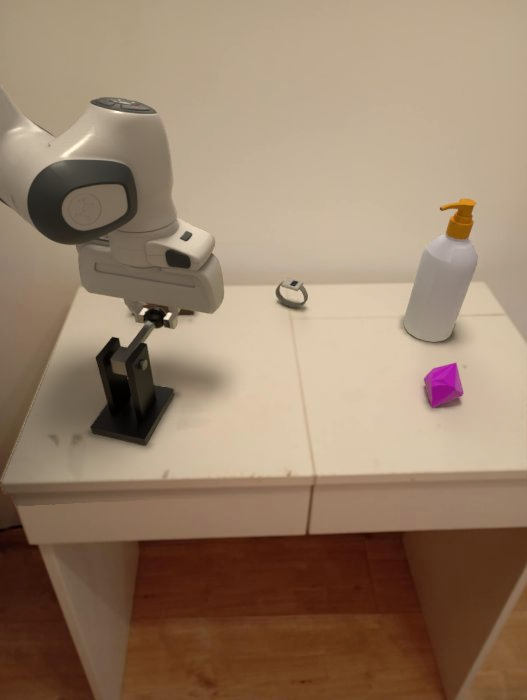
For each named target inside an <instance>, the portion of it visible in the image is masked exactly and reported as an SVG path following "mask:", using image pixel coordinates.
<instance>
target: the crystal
mask: <svg viewBox="0 0 527 700" xmlns="http://www.w3.org/2000/svg"><path fill="white" fill-rule="evenodd" d="M423 381H424V382H423V383H424V385H425V389H426V393H427V396H428V400H429V403H430V407H431V409H433V408H436V407H438V406H440V405H444V404H445V403H449V402H451V401H453V400H456V399H458V398H461V397H463V396H464V393H465V392H464V389H463V384H462V381H461V376H460V372H459V368H458V364H457V362H453V363H449V364H445V365H440V366H438V367H434V368H432V369H431V370H430V371H429V372H428V373H427V374H426V375H425V376H424V377H423Z"/></svg>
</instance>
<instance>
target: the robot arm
mask: <svg viewBox="0 0 527 700" xmlns="http://www.w3.org/2000/svg"><path fill="white" fill-rule="evenodd" d="M173 187H174V172H173V163H172V156H171V149H170V142H169V138H168V133H167V130H166V126H165V124H164V122H163V119H162V117H161V115H160V113H158V112H157V111H156V110H155V108H153V107H151V106H149V105H147V104H146V103H143V102H139V101H137V100H131V99H127V98H121V97H111V96H110V97H109V96H104V97H98V98H95V99H92V100H91V99H90V101H88V104H87V107H86V109H85V111H84V112H83V113H82V115H81V116H80V117H79V118H78V119H77V121H76V122H75V123H74V124H73V125H71V127H69V128H68V129H67V130H66V131H64V132H63V133H62V134H60V135H59V136H58V137H56V136H55V135H53V133H50V131H47V130H46V129H45V128H43V127H42V126H40V125H39V124H37V123H36V122H34V121H32V120H31V119H29V118H28V117H27V116H26V115H25V114H24V113H23V112H22V111H21V110H20V109H19V108H18V106H17V105H16V103H15V102H14V100H13V99H12V98H11V96H10V94H9V93H8V92H7V90H6V89H5V87H4V85H3V84H2V83H1V82H0V202H1V203H2V204H4V205H5V206H6V207H9V208H10V209H12V210H13V211H14V212H15V213H16V214H17V215H19V216H20V217H21V218H22V219H23V220H24V221H26V222H27V223H28V224H29V225H30V226H31V227H33V228H34V229H35V230H36V231H38V232H39V233H40V234H41V235H43V236H44V237H45V238H47V239H48V240H50V241H52V242H54V243H57V244H61V245H65V246H75V249H76V252H77V254H78V256H77V257H78V258H77V259H78V260H77V261H78V270H79V271H78V272H79V277H80V282H81V286H82V287H83V288H84V290H85V291H86V292H88V293H90V294H94V295H99V296H106V297H111V298H116V299H117V298H118V299H122V300H123V302H124V305H125V306H126V307H127V308H128V310H130V312H131V313H132V315H133V314H134V315H133V316H134V320H135V323H138V324H144V325H145V324H146V321H145V314H146V312H147V311H148V310H149V309H147V308H143V306H142V305H141V303H140V302H145V303H151V304H157V305H162V306H168V308H169V311H170V312H172V311H173V313H169V312H168V313H167V314H166V316H165V317H164V319H163V322H164V326H163V327H164V328H166V329H170V330H175V329H176V328H177V326H178V324H179V318H178V313H179V311H180V310H181V309H185V310H191V311H194V312H197V313H202V314H207V315H213V314H214V313H215V312H217V310H219V308H220V307H221V305H222V303H223V301H224V298H225V284H224V276H223V270H222V266H221V263H220V260H219V258H218V257H217V256H216V254H215V253H213V251H214V249H215V247H216V237H215V236H214V235H213V234H212V233H210V232H209V231H207V230H203V229H201V228H199V227H197V226H195V225H193V224H191V223H189V222H187V221H185V220H184V219H182V218H180V217H178V213H177V208H176V206H175V203H174V200H173Z"/></svg>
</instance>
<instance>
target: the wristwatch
mask: <svg viewBox="0 0 527 700" xmlns="http://www.w3.org/2000/svg"><path fill="white" fill-rule="evenodd" d="M281 288H285V289H289V290H291V291H295V292H299V291H300V292H301V294H302V295H303V301H302V302H298V303H296V302H292V301H289V300H288V299H287V298H285V297H284V296H283V295H282V293H281V290H280V289H281ZM275 296H276V298H277V300H278V301H280V303H281V304H283V305H285V306H287V307H289V308H294V309H295V308H300V307H303V306H305V304H306V303H307V302H308V300H309V293H308V291H307V288H306V287H305V286H304V282H303V281H300V280H297V279H293V278H290V277H286V279H285V280H282V281H281V282H280V283H279V284H278V285H277V287H276V288H275Z"/></svg>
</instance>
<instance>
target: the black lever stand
mask: <svg viewBox="0 0 527 700" xmlns="http://www.w3.org/2000/svg"><path fill="white" fill-rule="evenodd" d="M120 346H122V345H121V341H120V338H119V337H117V336H111V338H110V339H109V340H107V342H106V344H105V345H104V346H103V347H102V349H101V350H100V351H99V352H98V354H96V356H95V363H96V366H97V369H98V374H99V377H100V380H101V384H102V389H103V393H104V396H105V399H106V404H105V406H104V407H103V409H102V410H101V411H100V412H99V414H98V416H97V417H96V418H95V420H94V421H93V423H91V425H90V430H91V431H90V432H91V433H92V434H97V435H100V436H105V437H109V438H113V439H117V440H122V441H126V442H130V443H134V444H138V445H141V446H142V445H143V446H146V445H147V444H148V442H149V440H150V439H151V437H152V435H153V433H154V432H155V430H156V427H157V426H158V424H159V423H160V421H161V419H162V417H163V415H164V414H165V412H166V410H167V409H168V407H169V405H170V403H171V402H172V400H173V398H174V396H175V388H171V387H167V386H162V385H158V384H155V383H154V378H153V377H154V376H153V371H152V366H151V359H150V353H149V348H148V343H147V342H144V343H141V342H140V343H139V345H138V346H137V347H136V349H135V350H134V352H133V353H132V354H131V356H130V357H129V358H128V360H127V361H126V363H125V367H126V372H127V376H126V375H121V374H117V373H113V371H112V367H111V363H110V358H111V357H112V355H113V354H114V353H115V352H116V350H117V349H118V348H119V347H120Z"/></svg>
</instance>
